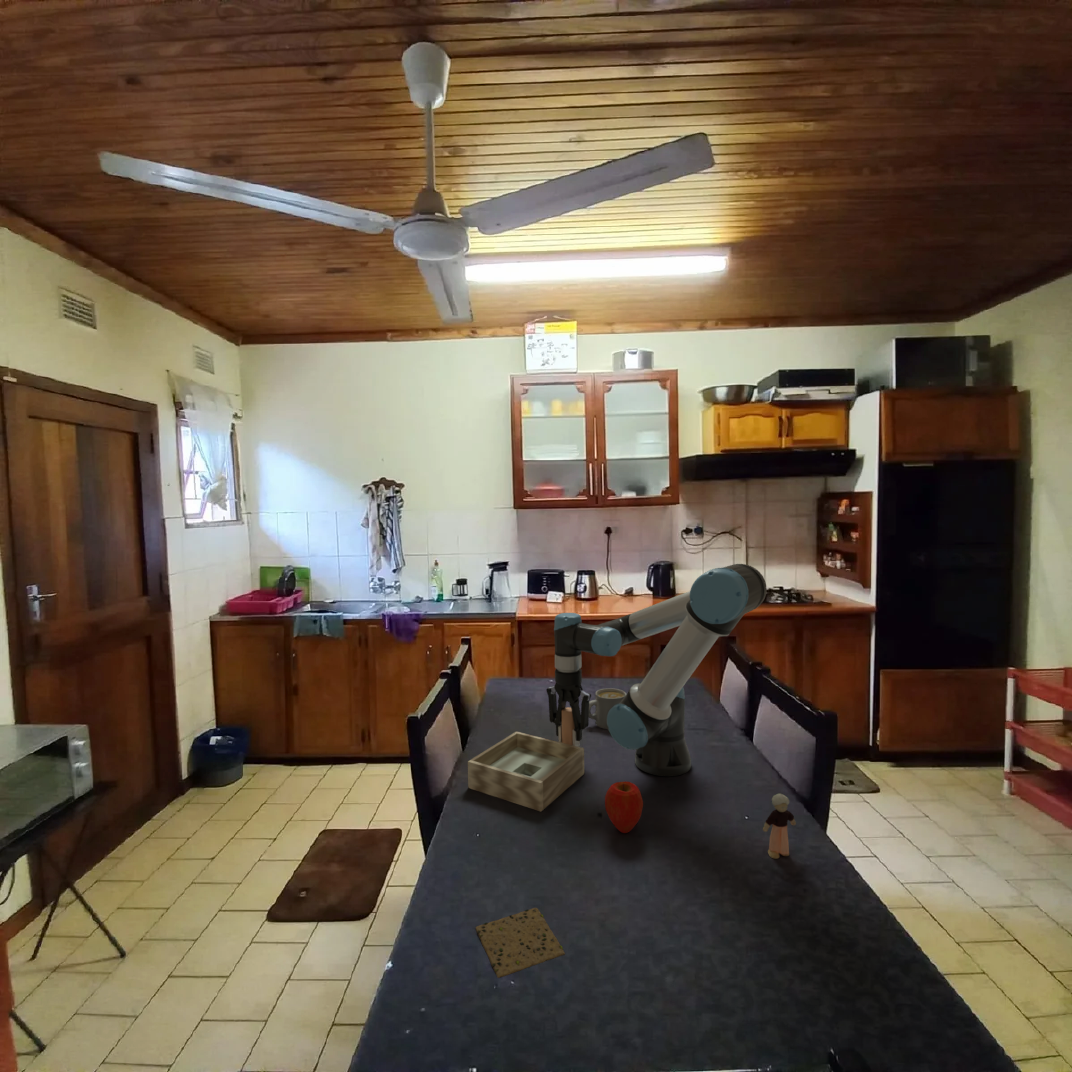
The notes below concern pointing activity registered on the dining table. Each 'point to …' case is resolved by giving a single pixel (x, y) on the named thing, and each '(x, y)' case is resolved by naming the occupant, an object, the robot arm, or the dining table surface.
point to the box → (526, 770)
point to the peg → (567, 726)
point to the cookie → (518, 942)
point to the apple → (624, 805)
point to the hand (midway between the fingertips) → (569, 749)
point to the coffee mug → (605, 704)
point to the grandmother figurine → (779, 826)
